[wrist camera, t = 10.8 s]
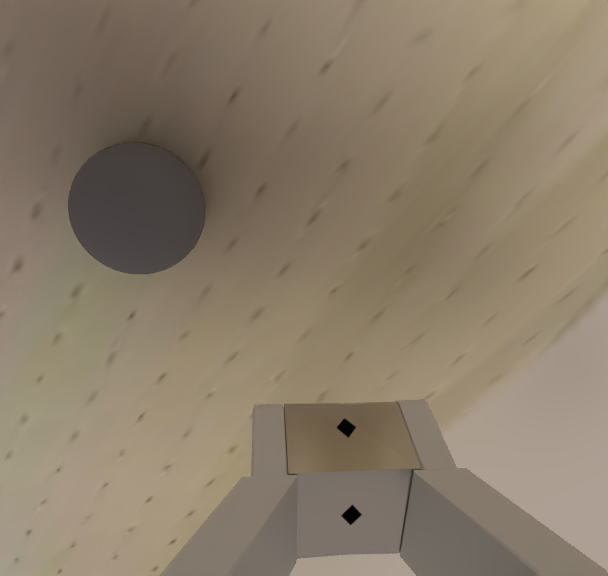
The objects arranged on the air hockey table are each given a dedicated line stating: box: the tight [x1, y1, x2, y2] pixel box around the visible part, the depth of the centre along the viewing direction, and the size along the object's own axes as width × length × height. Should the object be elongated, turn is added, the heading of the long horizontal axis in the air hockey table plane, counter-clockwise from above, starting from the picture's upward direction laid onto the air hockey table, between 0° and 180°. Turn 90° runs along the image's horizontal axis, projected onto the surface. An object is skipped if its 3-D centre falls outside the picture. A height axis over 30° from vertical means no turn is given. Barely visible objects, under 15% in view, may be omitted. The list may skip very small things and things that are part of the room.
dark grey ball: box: [68, 143, 205, 274], centre depth 20 cm, size 5×5×5 cm
